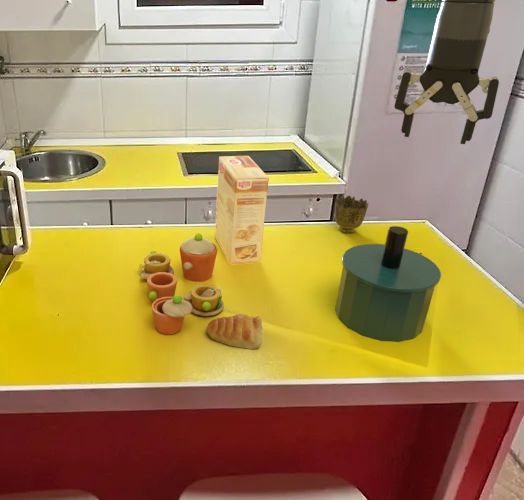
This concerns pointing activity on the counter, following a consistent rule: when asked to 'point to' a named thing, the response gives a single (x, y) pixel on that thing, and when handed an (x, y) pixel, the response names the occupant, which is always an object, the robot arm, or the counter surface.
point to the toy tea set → (164, 284)
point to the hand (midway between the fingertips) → (434, 139)
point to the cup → (349, 213)
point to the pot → (381, 310)
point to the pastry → (237, 331)
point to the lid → (391, 265)
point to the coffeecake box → (240, 209)
